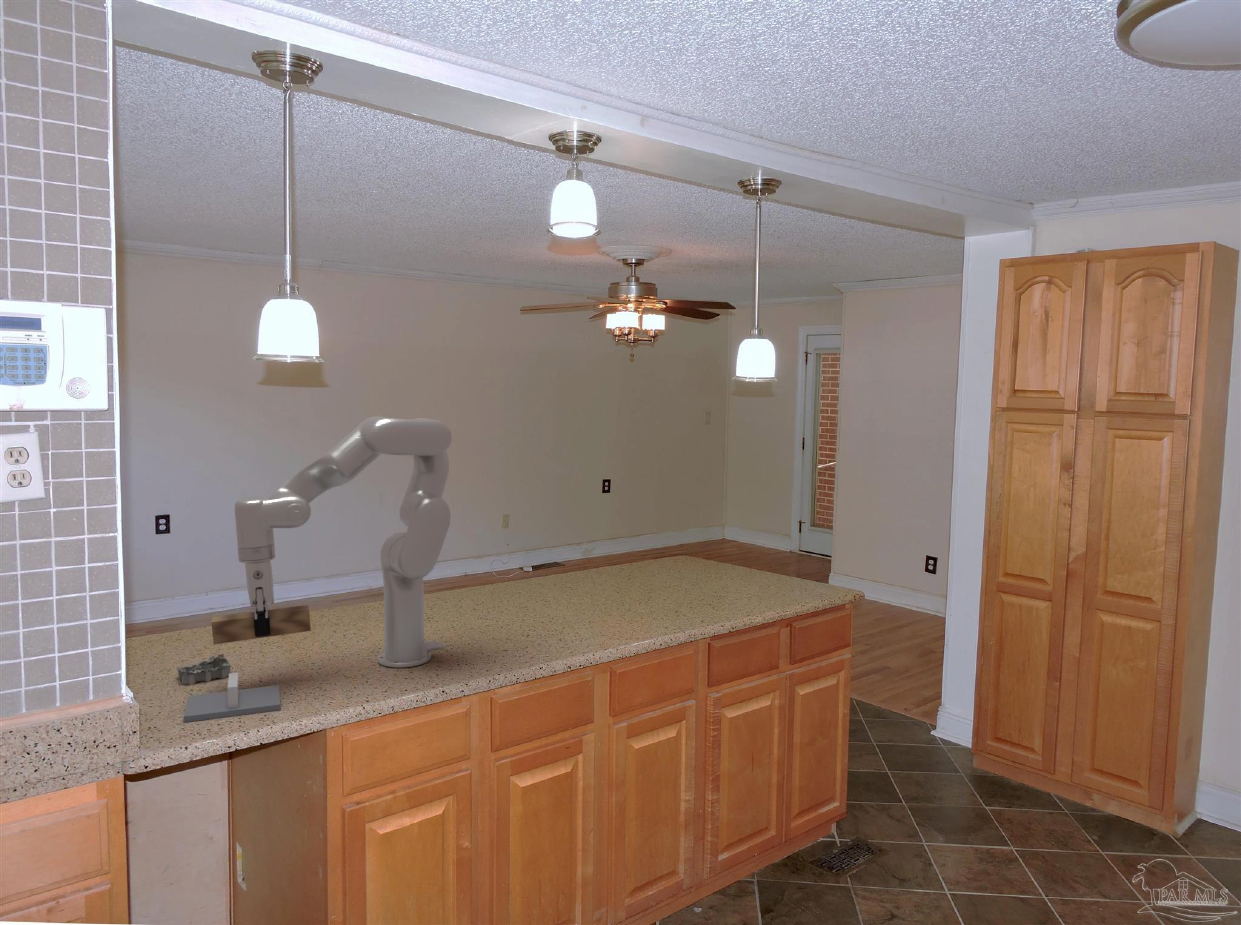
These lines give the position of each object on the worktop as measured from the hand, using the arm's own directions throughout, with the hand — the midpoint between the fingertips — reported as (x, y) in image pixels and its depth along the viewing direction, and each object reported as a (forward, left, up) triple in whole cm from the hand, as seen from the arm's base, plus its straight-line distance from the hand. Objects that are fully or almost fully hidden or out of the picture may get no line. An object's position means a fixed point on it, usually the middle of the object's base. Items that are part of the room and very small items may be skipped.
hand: (262, 631), depth 190 cm
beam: (0, 0, -1) cm, 1 cm away
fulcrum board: (+6, +11, -12) cm, 18 cm away
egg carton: (+13, -10, -13) cm, 20 cm away
